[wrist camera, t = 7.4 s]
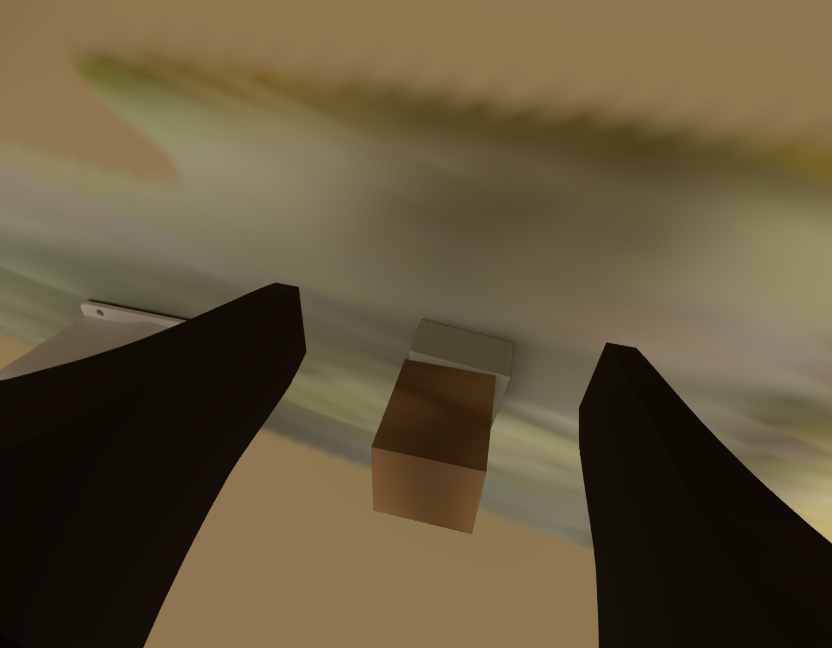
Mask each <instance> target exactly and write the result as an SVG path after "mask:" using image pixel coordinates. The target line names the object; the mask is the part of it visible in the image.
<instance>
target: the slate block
mask: <svg viewBox="0 0 832 648" xmlns="http://www.w3.org/2000/svg"><path fill="white" fill-rule="evenodd" d="M512 354H513V343H512V342H508V341H504V340H500V339H496V338H492V337H488V336H485V335H481V334H477V333H473V332H469V331H465V330H461V329H457V328H453V327H449V326H446V325H442V324H438V323H434V322H430V321H426V320H422V321H421V324H420V326H419V329H418V331H417V334H416V337H415V339H414V342H413V344H412V347H411V349H410V354H409V359H408V360H413V361H419V362H424V363H430V364H436V365H441V366H447V367H452V368H458V369H463V370H468V371H474V372H479V373H485V374H490V375H496V382H495V392H494V401H493V411H492V421H491V427H492V425H493V422H494V419H495V417H496V414H497V412H498V409H499V407H500V404H501V401H502V399H503V396H504V394H505V391H506V389H507V386H508V384H509V381H510V378H511V369H512Z"/></svg>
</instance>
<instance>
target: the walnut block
mask: <svg viewBox="0 0 832 648" xmlns="http://www.w3.org/2000/svg"><path fill="white" fill-rule="evenodd" d="M495 382H496V375H490V374H485V373H479V372H474V371H468V370H463V369H458V368H452V367H447V366H441V365H436V364H430V363H424V362H419V361H413V360H408V359H405V361H404V364H403V366H402V369H401V372H400V374H399V377H398V379H397V382H396V385H395V387H394V390H393V392H392V395H391V397H390V400H389V403H388V405H387V408H386V410H385V413H384V416H383V418H382V421H381V423H380V426H379V429H378V431H377V434H376V436H375V439H374V442H373V444H372V447H371V450H372V479H373V480H372V481H373V510H374V511H378V512H382V513H386V514H390V515H395V516H399V517H403V518H407V519H411V520H415V521H419V522H423V523H428V524H432V525H436V526H440V527H444V528H448V529H453V530H457V531H461V532H465V533H469V534H472V532H473V527H474V523H475V519H476V514H477V510H478V505H479V501H480V497H481V492H482V488H483V484H484V479H485V475H486V469H487V460H488V450H489V440H490V430H491V421H492V411H493V401H494V392H495Z"/></svg>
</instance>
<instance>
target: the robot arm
mask: <svg viewBox="0 0 832 648" xmlns="http://www.w3.org/2000/svg"><path fill="white" fill-rule="evenodd" d="M81 309H82V311H83V313H84V315H85V316H84V317H83V318H81V319H80V320H78V321H76V322H75V323H73V324H72V325H70V326H69V327H67V328H66V329H64V330H62V331H61V332H59V333H58V334H56V335H55V336H53V337H51V338H50V339H48V340H47V341H45V342H44V343H42V344H40V345H39V346H37V347H36V348H34V349H33V350H31V351H30V352H28V353H26V354H25V355H23V356H22V357H20V358H18V359H17V360H15V361H14V362H12V363H11V364H9V365H8V366H6V367H4V368H3V369H2V370H1V371H0V648H143V647H144V645H145V643H146V640H147V638H148V636H149V634H150V631H151V629H152V627H153V625H154V622H155V620H156V618H157V616H158V613H159V611H160V609H161V606H162V604H163V602H164V600H165V598H166V596H167V594H168V592H169V590H170V587H171V586H172V584H173V581H174V579H175V577H176V575H177V573H178V571H179V569H180V567H181V565H182V563H183V561H184V558H185V556H186V554H187V552H188V551H189V549H190V547H191V545H192V543H193V541H194V539H195V537H196V535H197V533H198V531H199V529H200V527H201V525H202V523H203V521H204V520H205V518H206V516H207V514H208V512H209V510H210V508H211V506H212V505H213V503H214V501H215V499H216V497H217V496H218V494H219V492H220V490H221V488H222V487H223V485H224V483H225V481H226V479H227V478H228V476H229V474H230V473H231V471H232V469H233V468H234V466H235V465H236V463H237V462H238V460H239V458H240V457H241V455H242V454H243V453H244V451H245V449H246V448H247V447H248V445H249V444H250V442H251V441H252V440H253V438H254V437H255V435H256V434H257V432H258V431H259V430H260V428H261V427H262V425H263V424H264V422H265V421H266V420H267V418H268V417H269V415H270V414H271V412H272V411H273V409H274V408H275V407H276V405H277V404H278V402H279V401H280V399H281V398H282V396H283V395H284V393H285V392H286V390H287V389H288V387H289V386H290V384H291V382H292V380H293V378H294V376H295V375H296V373H297V371H298V369H299V367H300V364H301V362H302V360H303V358H304V356H305V354H306V344H305V335H304V327H303V319H302V311H301V302H300V294H299V287H296V286H291V285H285V284H280V283H274V284H271V285H268V286H265V287H263V288H260V289H258V290H255V291H253V292H251V293H248V294H246V295H244V296H242V297H239V298H237V299H235V300H233V301H231V302H228V303H226V304H224V305H222V306H219V307H217V308H215V309H213V310H210V311H208V312H206V313H204V314H201V315H199V316H197V317H195V318H192V319H190V320H187V321H186V320H181V319H176V318H171V317H166V316H161V315H156V314H151V313H146V312H141V311H136V310H131V309H126V308H121V307H116V306H111V305H106V304H101V303H96V302H91V301H86V302H84V303H82V304H81ZM579 449H580V457H581V464H582V471H583V478H584V485H585V492H586V499H587V506H588V512H589V519H590V526H591V533H592V539H593V546H594V556H595V565H596V580H597V602H598V626H599V627H598V628H599V648H832V543H831V542H829V541H828V540H827V539H826V538H825V537H823V536H822V535H821V534H820V533H819V532H817V531H816V530H815V529H814V528H813V527H811V526H810V525H809V524H808V523H807V522H806V521H804V520H803V519H802V518H801V517H800V516H799V515H798V514H797V513H795V512H794V511H793V510H792V509H791V508H790V507H789V506H788V505H786V504H785V503H784V502H783V501H782V500H781V499H780V498H779V497H777V496H776V495H775V494H774V493H773V492H772V491H771V490H770V489H768V488H767V487H766V486H765V485H764V484H763V483H762V482H761V481H760V480H759V479H758V478H757V477H756V476H755V475H753V474H752V473H751V472H750V471H749V470H748V469H747V468H746V467H745V466H744V465H743V464H742V463H741V462H740V461H739V460H738V459H737V458H736V457H735V456H734V455H733V454H732V453H731V452H730V451H729V450H728V449H727V448H726V447H725V446H724V445H723V444H722V443H721V442H720V441H719V440H718V439H717V437H716V436H715V435H714V434H713V433H712V432H711V431H710V430H709V429H708V428H707V427H706V426H705V425H704V424H703V423H702V422H701V420H700V419H699V418H698V417H697V416H696V415H695V414H694V413H693V412H692V411H691V409H690V408H689V407H688V406H687V405H686V404H685V403H684V402H683V400H682V399H681V398H680V397H679V396H678V395H677V394H676V392H675V391H674V390H673V389H672V388H671V387H670V386H669V384H668V383H667V382H666V381H665V380H664V379H663V377H662V376H661V375H660V374H659V373H658V372H657V371H656V369H655V368H654V367H653V366H652V365H651V364H650V362H649V361H648V360H647V359H646V358H645V357H644V356H643V355H642V354H641V352H640V351H639V350H638V349H637V348H634V347H629V346H623V345H618V344H612V343H607V342H606V345H605V347H604V350H603V352H602V354H601V357H600V359H599V361H598V364H597V366H596V369H595V371H594V373H593V376H592V378H591V381H590V383H589V385H588V388H587V390H586V392H585V395H584V397H583V400H582V402H581V404H580V407H579Z"/></svg>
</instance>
